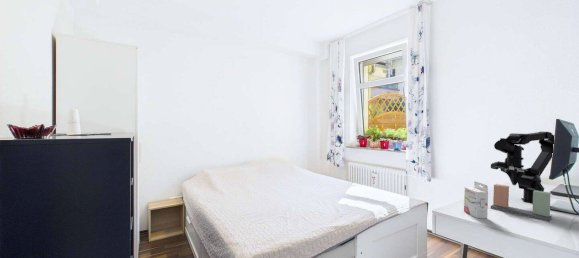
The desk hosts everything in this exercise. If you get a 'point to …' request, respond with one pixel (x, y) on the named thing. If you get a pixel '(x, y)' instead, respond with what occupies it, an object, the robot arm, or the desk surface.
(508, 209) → the grey flat slab
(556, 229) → the desk surface
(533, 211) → the pale green block
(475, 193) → the ink cartridge box
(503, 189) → the peach button block
